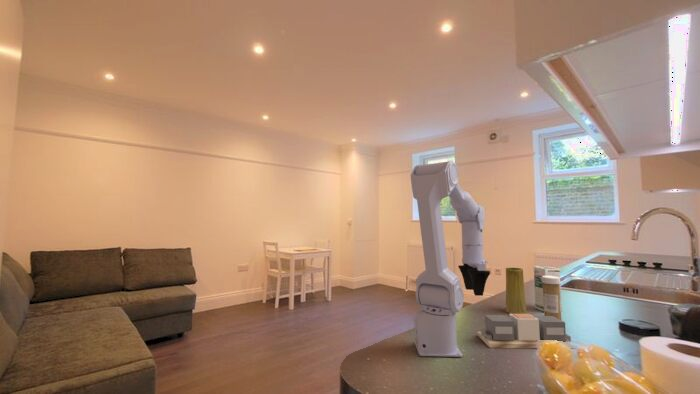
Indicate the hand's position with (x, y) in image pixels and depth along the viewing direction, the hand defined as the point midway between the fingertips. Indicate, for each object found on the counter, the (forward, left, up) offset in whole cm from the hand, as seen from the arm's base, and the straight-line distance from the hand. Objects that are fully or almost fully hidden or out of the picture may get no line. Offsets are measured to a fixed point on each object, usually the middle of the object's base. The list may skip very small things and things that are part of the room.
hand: (474, 292), depth 90 cm
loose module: (+8, -12, -8) cm, 17 cm away
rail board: (+8, -12, -9) cm, 17 cm away
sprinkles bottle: (+24, +4, -10) cm, 26 cm away
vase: (+18, +14, -10) cm, 25 cm away
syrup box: (+30, +17, -10) cm, 36 cm away
